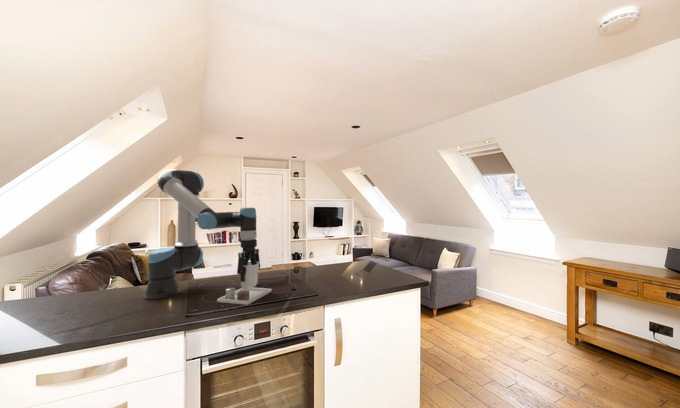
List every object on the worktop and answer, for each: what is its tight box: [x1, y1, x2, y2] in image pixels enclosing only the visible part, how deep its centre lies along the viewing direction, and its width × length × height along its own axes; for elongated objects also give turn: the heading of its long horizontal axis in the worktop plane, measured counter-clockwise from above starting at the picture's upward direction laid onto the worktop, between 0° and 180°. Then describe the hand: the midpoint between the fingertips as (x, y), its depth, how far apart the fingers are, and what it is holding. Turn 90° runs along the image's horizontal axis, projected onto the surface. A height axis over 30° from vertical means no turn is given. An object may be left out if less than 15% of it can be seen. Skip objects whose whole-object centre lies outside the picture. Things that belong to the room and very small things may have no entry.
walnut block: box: [237, 291, 249, 301], centre depth 129 cm, size 4×4×4 cm
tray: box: [216, 286, 273, 306], centre depth 135 cm, size 16×20×2 cm
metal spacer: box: [225, 287, 236, 300], centre depth 131 cm, size 4×4×5 cm
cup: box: [244, 261, 261, 288], centre depth 138 cm, size 10×10×11 cm
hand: (249, 285), depth 138 cm, fingers closed on cup, 8 cm apart
